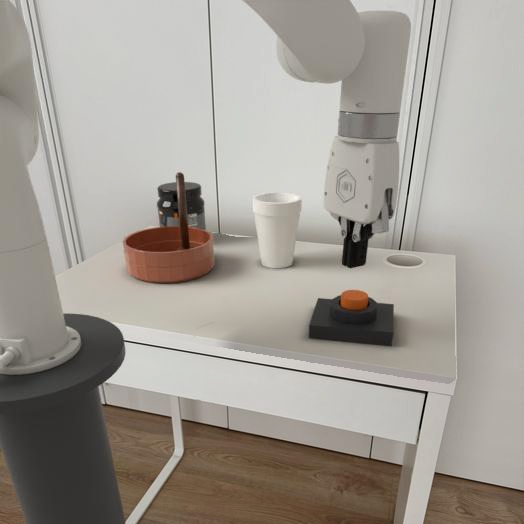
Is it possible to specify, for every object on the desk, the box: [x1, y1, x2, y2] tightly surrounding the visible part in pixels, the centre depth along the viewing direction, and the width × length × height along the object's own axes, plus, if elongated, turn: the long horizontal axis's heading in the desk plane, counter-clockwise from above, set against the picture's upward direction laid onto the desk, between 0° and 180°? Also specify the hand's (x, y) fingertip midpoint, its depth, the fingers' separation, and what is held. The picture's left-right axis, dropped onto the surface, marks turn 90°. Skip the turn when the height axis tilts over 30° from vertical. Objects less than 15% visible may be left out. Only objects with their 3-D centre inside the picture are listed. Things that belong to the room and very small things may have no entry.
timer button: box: [340, 289, 369, 310], centre depth 77 cm, size 4×4×2 cm
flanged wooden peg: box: [175, 171, 195, 251], centre depth 101 cm, size 4×4×16 cm
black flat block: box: [308, 294, 395, 347], centre depth 79 cm, size 10×12×4 cm
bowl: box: [122, 226, 216, 284], centre depth 102 cm, size 17×17×6 cm
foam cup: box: [252, 191, 303, 269], centre depth 102 cm, size 10×9×13 cm
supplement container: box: [156, 181, 207, 230], centre depth 116 cm, size 10×10×12 cm
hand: (353, 265), depth 75 cm, fingers closed
